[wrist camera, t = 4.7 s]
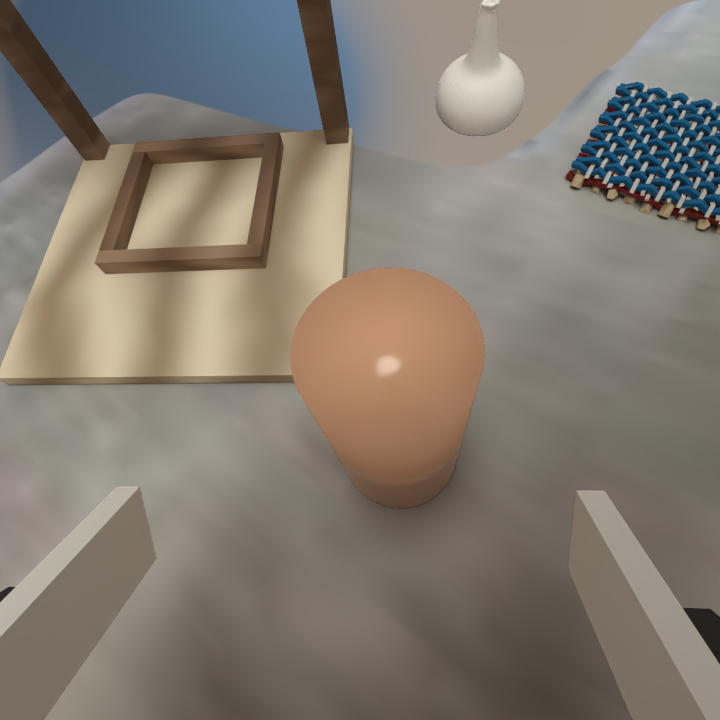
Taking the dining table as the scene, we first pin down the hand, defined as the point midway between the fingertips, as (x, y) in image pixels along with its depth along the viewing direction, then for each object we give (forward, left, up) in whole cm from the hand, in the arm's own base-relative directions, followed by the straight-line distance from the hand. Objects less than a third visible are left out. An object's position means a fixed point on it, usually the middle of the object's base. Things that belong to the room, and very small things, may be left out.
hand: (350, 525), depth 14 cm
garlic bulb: (-7, -31, -10) cm, 34 cm away
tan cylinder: (-1, -5, -10) cm, 11 cm away
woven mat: (-19, -25, -11) cm, 33 cm away
